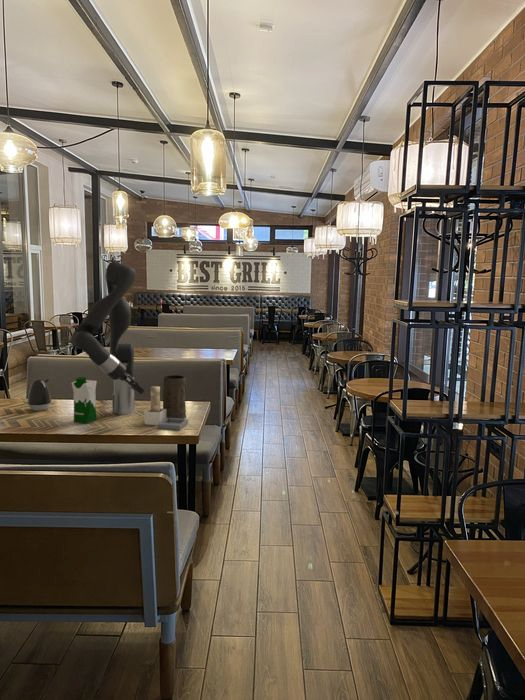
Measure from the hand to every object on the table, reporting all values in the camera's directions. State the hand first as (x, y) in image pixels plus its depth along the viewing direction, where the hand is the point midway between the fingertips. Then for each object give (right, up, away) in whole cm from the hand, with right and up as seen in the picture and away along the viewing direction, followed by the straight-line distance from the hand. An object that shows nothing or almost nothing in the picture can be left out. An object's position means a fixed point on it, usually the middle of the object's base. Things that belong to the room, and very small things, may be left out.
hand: (139, 390), depth 208 cm
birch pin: (+6, -15, +6) cm, 17 cm away
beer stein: (+13, -14, +17) cm, 26 cm away
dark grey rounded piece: (-54, -12, +25) cm, 61 cm away
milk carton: (-26, -14, +8) cm, 31 cm away
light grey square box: (+6, -15, +6) cm, 17 cm away
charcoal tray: (+14, -16, +1) cm, 22 cm away
